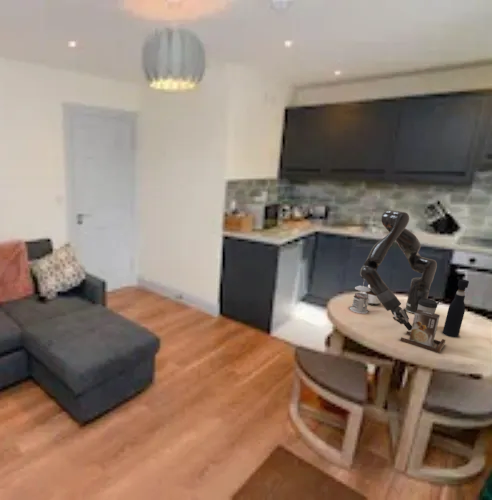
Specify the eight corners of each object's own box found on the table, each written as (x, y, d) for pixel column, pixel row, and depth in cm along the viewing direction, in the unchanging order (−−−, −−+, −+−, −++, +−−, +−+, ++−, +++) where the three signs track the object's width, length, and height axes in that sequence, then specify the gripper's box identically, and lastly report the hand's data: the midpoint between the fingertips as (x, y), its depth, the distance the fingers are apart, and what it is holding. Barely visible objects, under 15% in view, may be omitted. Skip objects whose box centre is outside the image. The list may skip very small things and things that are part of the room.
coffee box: (433, 344, 181) (441, 314, 177) (430, 349, 177) (438, 318, 173) (411, 337, 188) (418, 308, 183) (408, 341, 183) (414, 312, 179)
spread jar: (383, 306, 226) (386, 288, 223) (367, 307, 224) (370, 289, 221) (368, 298, 237) (371, 281, 234) (352, 299, 235) (355, 282, 232)
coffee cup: (435, 330, 195) (441, 304, 191) (417, 329, 197) (423, 303, 193) (426, 323, 203) (432, 298, 199) (410, 322, 204) (415, 297, 201)
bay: (406, 333, 192) (407, 328, 191) (444, 345, 180) (445, 339, 180) (400, 340, 185) (401, 335, 184) (439, 353, 173) (440, 347, 172)
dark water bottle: (439, 331, 194) (452, 278, 186) (450, 331, 194) (463, 278, 187) (450, 337, 188) (464, 282, 180) (461, 337, 188) (476, 282, 180)
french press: (361, 306, 224) (368, 268, 218) (374, 315, 213) (381, 274, 207) (346, 306, 224) (352, 268, 218) (357, 315, 213) (364, 274, 206)
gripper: (391, 299, 183) (415, 330, 178) (399, 293, 192) (422, 322, 186) (377, 306, 189) (400, 336, 183) (385, 299, 197) (407, 328, 192)
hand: (411, 329), depth 185 cm, fingers closed
